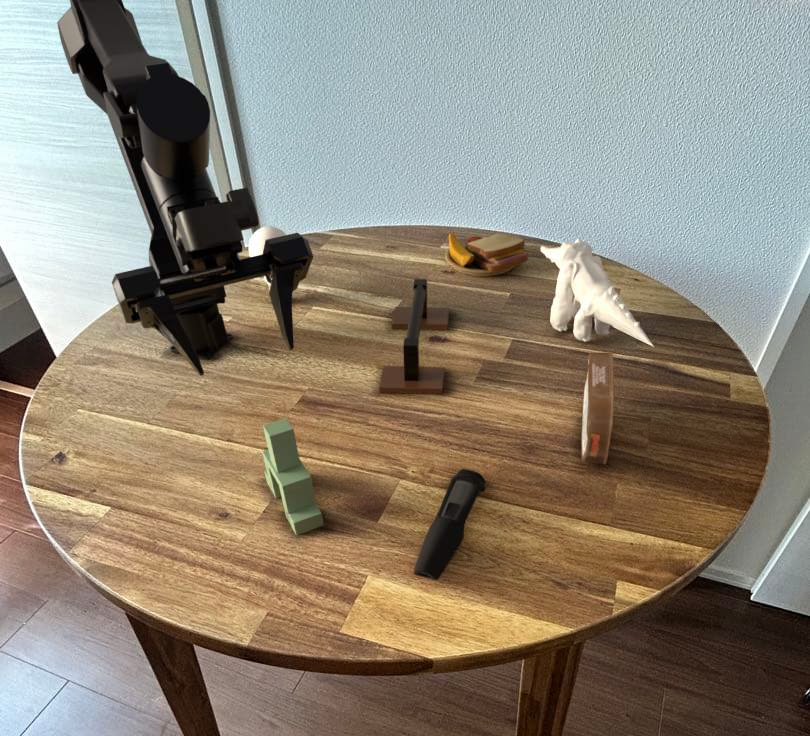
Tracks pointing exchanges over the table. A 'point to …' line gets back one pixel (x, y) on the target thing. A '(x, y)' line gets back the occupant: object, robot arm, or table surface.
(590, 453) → the brown product box
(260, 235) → the lightbulb
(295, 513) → the green stepped block figure
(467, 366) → the table surface
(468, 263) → the toy sandwich meal
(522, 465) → the table surface
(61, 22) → the robot arm
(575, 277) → the toy dinosaur
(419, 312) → the toy hurdle
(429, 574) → the electric trimmer
